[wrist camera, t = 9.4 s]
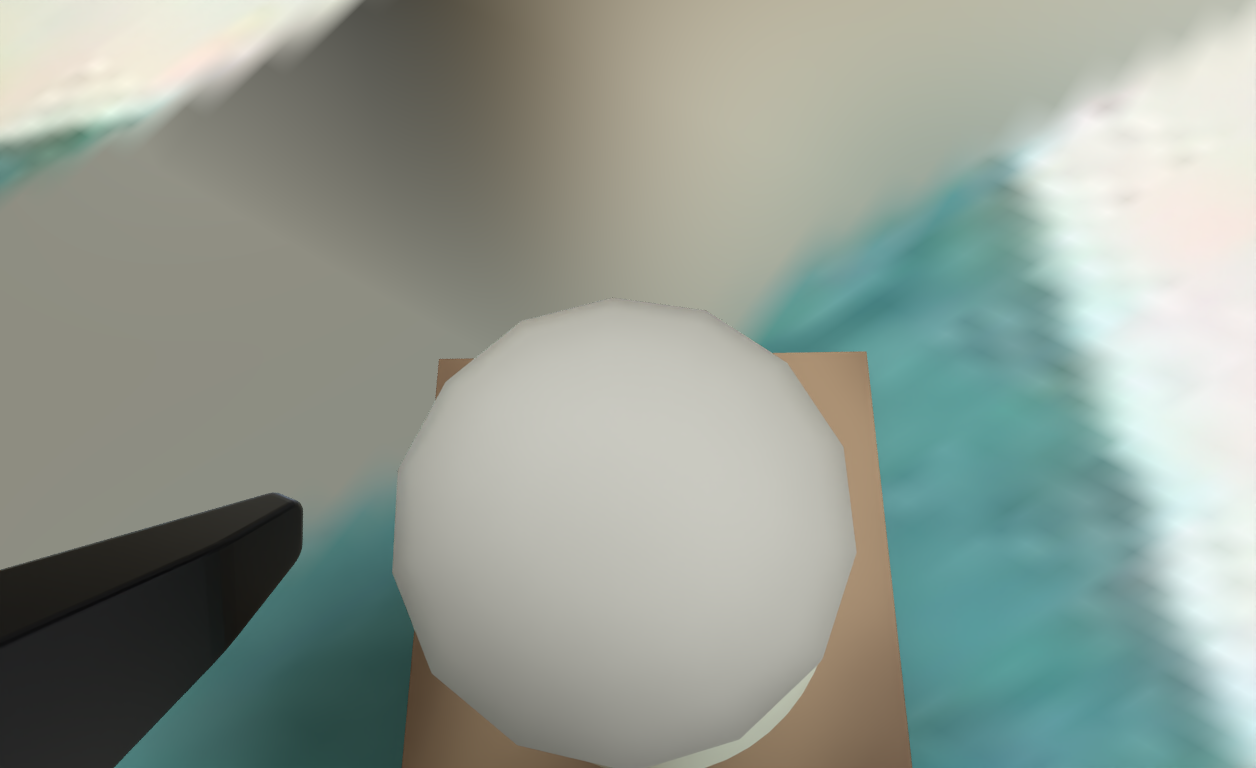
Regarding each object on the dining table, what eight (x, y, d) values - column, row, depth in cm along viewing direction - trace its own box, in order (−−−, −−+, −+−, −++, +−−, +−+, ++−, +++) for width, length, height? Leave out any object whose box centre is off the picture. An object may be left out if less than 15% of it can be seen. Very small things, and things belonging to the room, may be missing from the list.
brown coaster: (411, 828, 18) (391, 844, 17) (451, 373, 22) (436, 356, 20) (905, 837, 17) (924, 854, 16) (855, 366, 21) (868, 348, 20)
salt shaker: (784, 494, 19) (1004, 239, 6) (755, 734, 17) (981, 1017, 5) (564, 455, 19) (380, 157, 7) (514, 684, 18) (155, 814, 5)
